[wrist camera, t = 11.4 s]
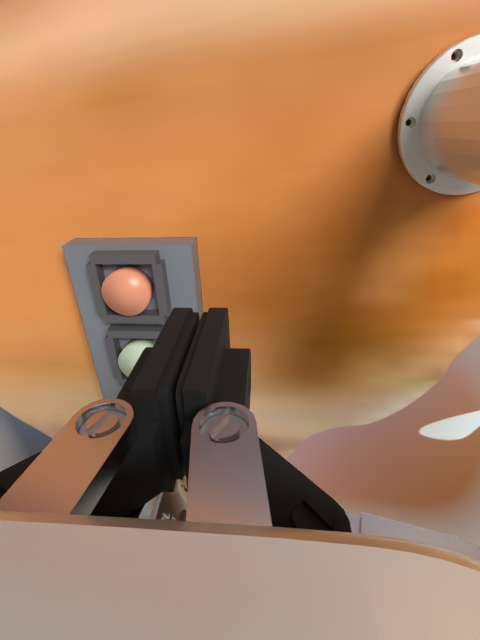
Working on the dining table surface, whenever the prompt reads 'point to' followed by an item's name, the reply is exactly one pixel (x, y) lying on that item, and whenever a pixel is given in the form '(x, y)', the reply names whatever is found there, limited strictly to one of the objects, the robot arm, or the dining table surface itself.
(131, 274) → the terracotta button
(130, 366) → the sage button
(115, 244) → the button panel
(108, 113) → the dining table surface
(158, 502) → the coffee box
